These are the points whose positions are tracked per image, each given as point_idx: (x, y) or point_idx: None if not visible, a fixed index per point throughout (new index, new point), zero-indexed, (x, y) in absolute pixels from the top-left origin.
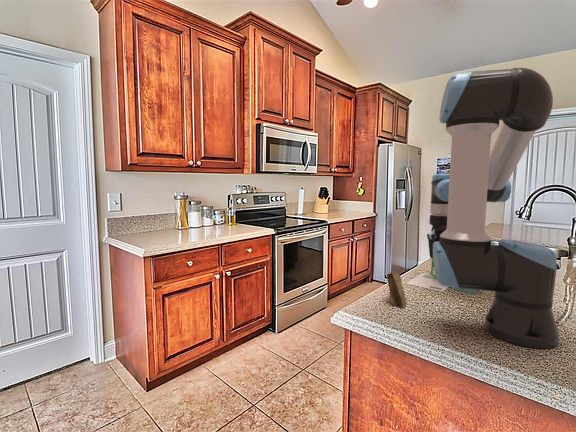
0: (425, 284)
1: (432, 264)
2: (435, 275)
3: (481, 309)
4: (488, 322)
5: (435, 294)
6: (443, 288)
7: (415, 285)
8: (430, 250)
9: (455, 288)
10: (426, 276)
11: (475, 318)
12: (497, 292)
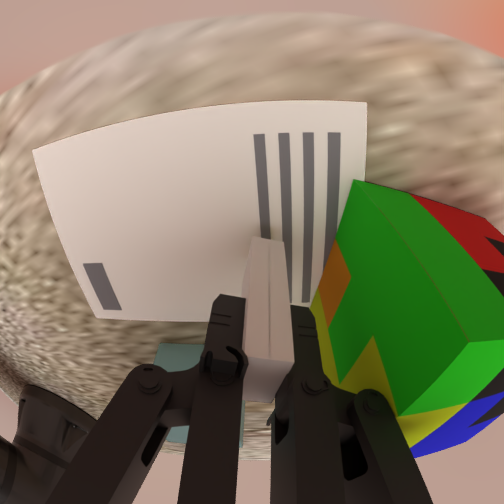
0: (104, 232)
1: (386, 228)
2: (345, 215)
3: (85, 390)
4: (20, 397)
5: (50, 302)
6: (129, 312)
7: (48, 203)
8: (85, 453)
9: (158, 351)
10: (285, 164)
11: (40, 378)
12: (12, 443)
